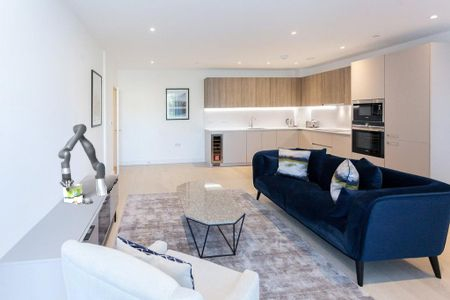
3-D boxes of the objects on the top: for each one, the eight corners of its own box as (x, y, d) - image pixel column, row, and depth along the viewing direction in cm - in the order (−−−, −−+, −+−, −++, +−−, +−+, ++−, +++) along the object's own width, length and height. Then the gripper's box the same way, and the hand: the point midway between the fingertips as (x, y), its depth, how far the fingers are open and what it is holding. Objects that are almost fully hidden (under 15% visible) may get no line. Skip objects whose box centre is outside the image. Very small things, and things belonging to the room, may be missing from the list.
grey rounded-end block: (89, 202, 332) (89, 197, 331) (92, 203, 328) (91, 198, 328) (84, 203, 328) (84, 198, 328) (86, 204, 325) (86, 199, 324)
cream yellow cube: (77, 200, 335) (77, 196, 334) (78, 200, 333) (78, 197, 332) (74, 200, 333) (74, 197, 332) (75, 201, 331) (75, 198, 330)
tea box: (73, 202, 335) (72, 187, 333) (64, 202, 337) (62, 187, 336) (83, 198, 350) (81, 183, 348) (74, 198, 352) (72, 183, 350)
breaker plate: (86, 200, 342) (86, 197, 342) (92, 201, 334) (91, 199, 334) (72, 203, 332) (72, 201, 332) (77, 205, 324) (77, 202, 324)
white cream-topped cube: (80, 201, 330) (80, 198, 329) (82, 201, 328) (81, 198, 328) (77, 201, 328) (77, 198, 327) (78, 202, 326) (78, 199, 325)
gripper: (71, 171, 332) (73, 189, 334) (57, 173, 323) (58, 192, 325) (75, 172, 327) (76, 190, 329) (60, 174, 317) (62, 193, 319)
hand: (67, 191), depth 327 cm, fingers closed
